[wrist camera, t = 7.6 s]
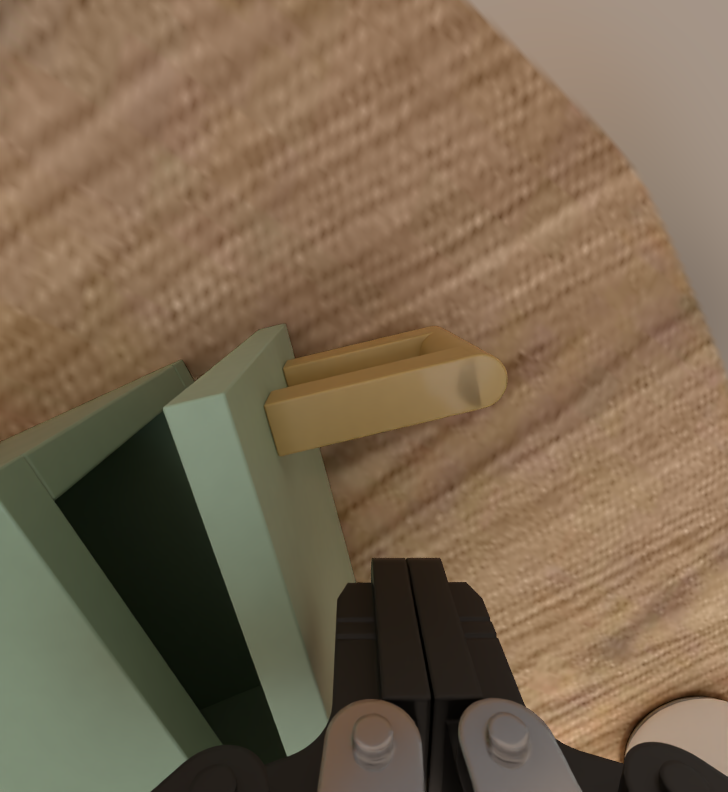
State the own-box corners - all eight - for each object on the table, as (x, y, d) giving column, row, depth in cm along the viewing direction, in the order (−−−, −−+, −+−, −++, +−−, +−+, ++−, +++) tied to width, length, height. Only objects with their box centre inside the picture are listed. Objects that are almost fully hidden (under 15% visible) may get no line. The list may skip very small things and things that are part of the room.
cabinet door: (428, 289, 17) (548, 315, 7) (490, 618, 20) (622, 913, 11) (257, 329, 17) (160, 407, 7) (350, 650, 20) (364, 975, 11)
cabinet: (182, 358, 17) (-18, 478, 7) (345, 652, 21) (355, 991, 11) (-88, 482, 18) (-604, 742, 8) (118, 746, 21) (-64, 1147, 11)
